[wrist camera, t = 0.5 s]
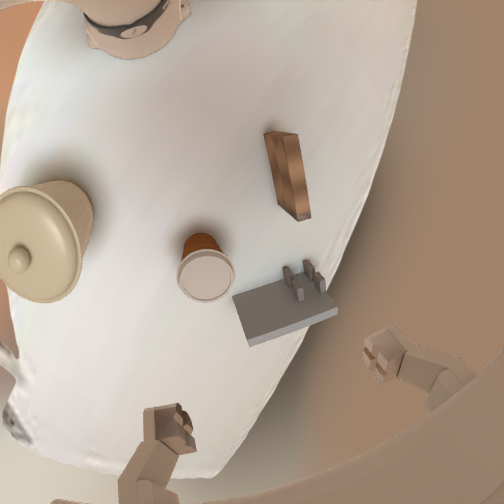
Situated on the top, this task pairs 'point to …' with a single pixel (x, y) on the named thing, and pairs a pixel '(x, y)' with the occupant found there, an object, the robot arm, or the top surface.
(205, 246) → the disposable coffee cup
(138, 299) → the top surface
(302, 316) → the cabinet side
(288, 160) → the walnut door
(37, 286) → the canister
